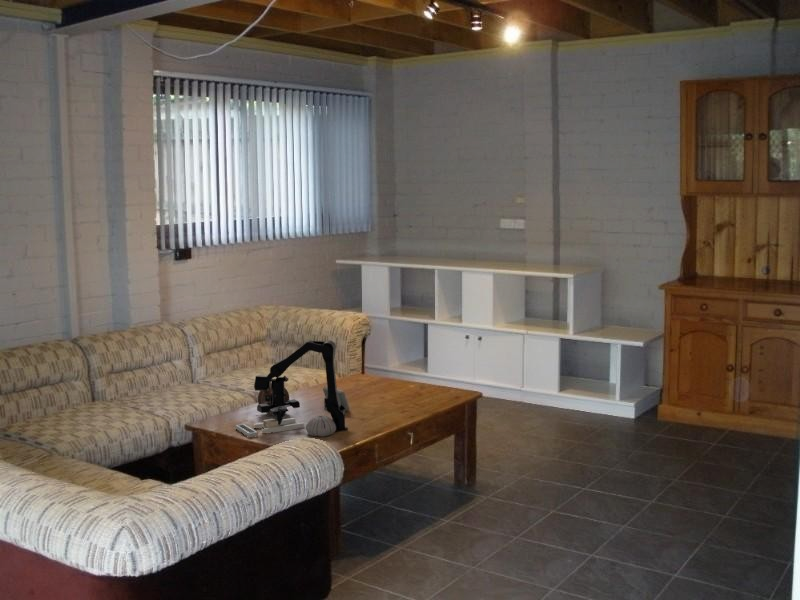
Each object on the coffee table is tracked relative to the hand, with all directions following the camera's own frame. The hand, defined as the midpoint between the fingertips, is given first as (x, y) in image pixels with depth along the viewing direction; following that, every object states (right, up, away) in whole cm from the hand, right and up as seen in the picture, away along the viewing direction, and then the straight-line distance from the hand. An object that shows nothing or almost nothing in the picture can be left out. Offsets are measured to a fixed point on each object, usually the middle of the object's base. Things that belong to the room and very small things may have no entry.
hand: (279, 424), depth 407 cm
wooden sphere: (-6, +1, +25) cm, 25 cm away
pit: (-13, -3, -8) cm, 16 cm away
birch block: (-3, -2, -2) cm, 4 cm away
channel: (0, -2, 0) cm, 2 cm away
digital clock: (+24, +3, +33) cm, 41 cm away
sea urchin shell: (+20, -3, -9) cm, 22 cm away
